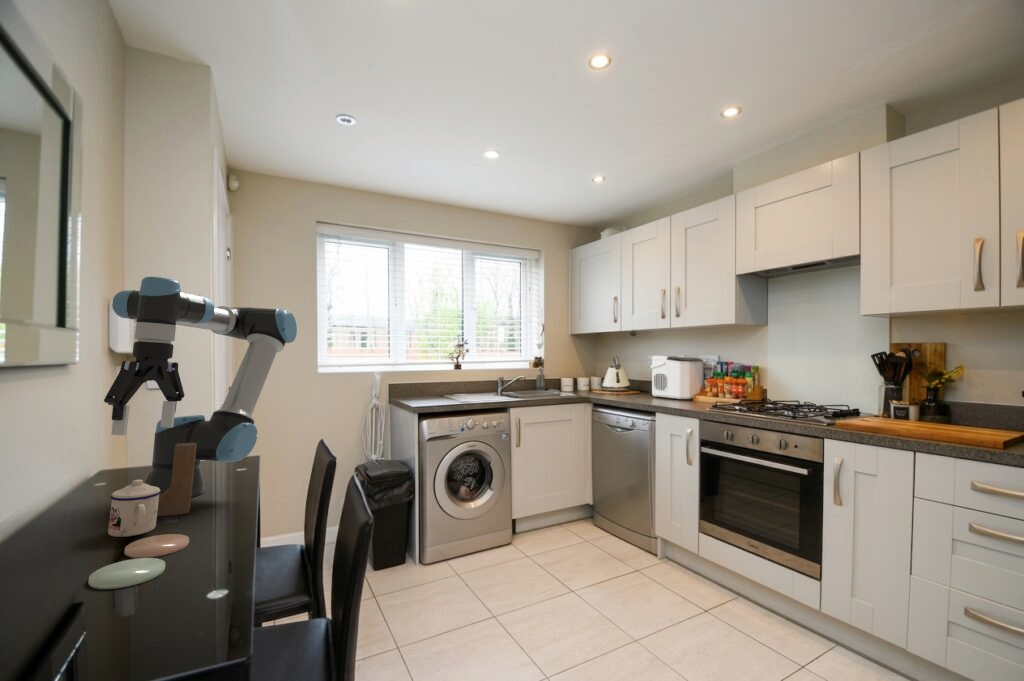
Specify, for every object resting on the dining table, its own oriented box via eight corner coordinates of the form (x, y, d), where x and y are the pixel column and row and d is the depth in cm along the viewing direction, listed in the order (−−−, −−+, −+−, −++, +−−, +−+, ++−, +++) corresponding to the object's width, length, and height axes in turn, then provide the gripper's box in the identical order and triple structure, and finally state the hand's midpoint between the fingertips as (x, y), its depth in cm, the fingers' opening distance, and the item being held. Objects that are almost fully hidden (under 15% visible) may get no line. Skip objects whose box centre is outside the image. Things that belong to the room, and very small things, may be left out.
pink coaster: (153, 536, 102) (153, 532, 102) (200, 539, 102) (201, 535, 102) (109, 556, 91) (110, 552, 91) (162, 559, 91) (163, 555, 91)
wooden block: (145, 518, 112) (152, 446, 113) (147, 513, 116) (155, 443, 117) (188, 514, 117) (195, 445, 118) (190, 509, 121) (196, 442, 122)
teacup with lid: (103, 529, 104) (108, 479, 105) (151, 521, 111) (157, 473, 112) (112, 545, 96) (118, 490, 97) (164, 534, 103) (169, 483, 104)
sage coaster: (124, 560, 89) (125, 556, 89) (178, 563, 89) (179, 559, 89) (70, 587, 78) (71, 582, 78) (132, 590, 78) (132, 586, 78)
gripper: (178, 344, 119) (169, 423, 117) (89, 336, 94) (76, 437, 92) (205, 345, 119) (197, 425, 117) (124, 338, 94) (112, 439, 92)
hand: (144, 431), depth 105 cm, fingers open, 13 cm apart
